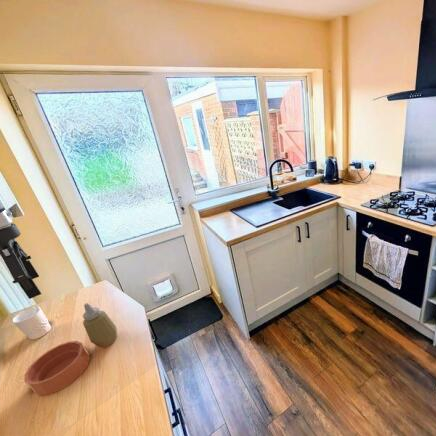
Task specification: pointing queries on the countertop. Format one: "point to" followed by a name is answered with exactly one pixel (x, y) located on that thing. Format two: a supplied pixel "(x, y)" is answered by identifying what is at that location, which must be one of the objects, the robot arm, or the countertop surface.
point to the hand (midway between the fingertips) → (34, 286)
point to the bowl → (57, 368)
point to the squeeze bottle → (99, 326)
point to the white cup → (32, 322)
